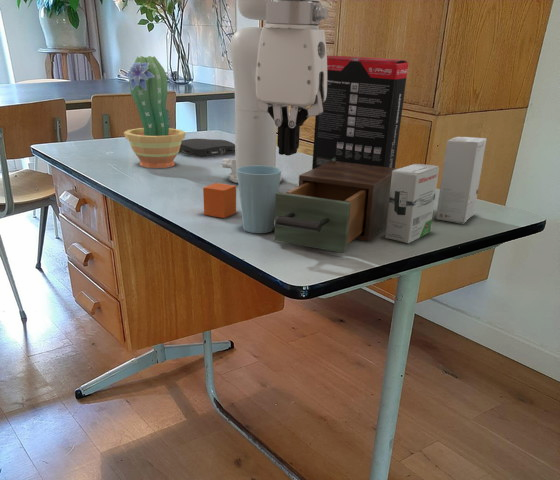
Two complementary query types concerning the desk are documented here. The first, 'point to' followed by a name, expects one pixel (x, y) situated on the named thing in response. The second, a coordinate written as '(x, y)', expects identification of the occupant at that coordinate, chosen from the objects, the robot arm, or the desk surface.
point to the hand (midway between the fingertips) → (287, 153)
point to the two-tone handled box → (320, 215)
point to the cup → (258, 196)
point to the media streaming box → (206, 147)
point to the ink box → (411, 202)
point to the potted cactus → (152, 115)
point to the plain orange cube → (219, 200)
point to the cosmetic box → (460, 179)
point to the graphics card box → (360, 111)
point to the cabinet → (359, 177)
